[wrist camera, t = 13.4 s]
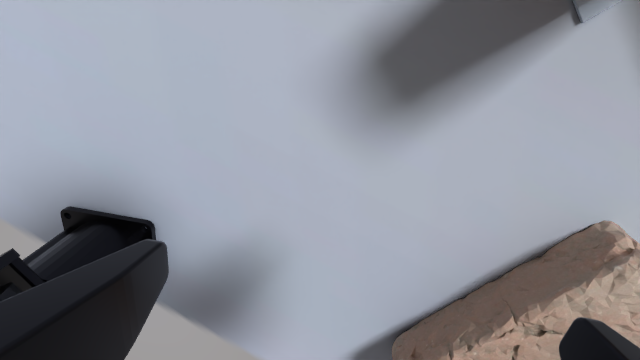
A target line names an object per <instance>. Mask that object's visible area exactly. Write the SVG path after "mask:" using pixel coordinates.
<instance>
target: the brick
mask: <svg viewBox="0 0 640 360" xmlns="http://www.w3.org/2000/svg"><path fill="white" fill-rule="evenodd" d="M578 317H584V318H590V319H595V320H599V321H601V322H603V323H605V324H606V325H608V326H609V327H611V328H612V329H613V330H615V331H616V332H618V333H619V334H621V335H622V336H623V337H625V338H626V339H628V340H629V341H630V342H632V343H633V344H635V345H636V346H638V347H639V348H640V244H639V243H638V242H637V241H636V240H634V239H633V238H631V237H630V236H629V235H628V234H627V233H626V232H625V231H624V230H623V229H622V228H621V227H620V226H619V225H617V224H615V223H614V222H612V221H602V222H600V223H596V224H594V225H592V226H591V227H589V228H587V229H585V230H584V231H582V232H578V233H576V234H573V235H571V236H570V237H568V238H567V239H565V240H563V241H562V242H560V243H558V244H557V245H555V246H554V247H552V248H551V249H549V250H548V251H547V252H546V253H545V254H544V255H543V256H542V257H541V258H540V257H538V258H536V259H534V260H531V261H529V262H527V263H524V264H522V265H520V266H518V267H516V268H514V269H513V270H512V271H511V272H508V273H506V274H505V275H504V276H502V277H501V278H499V279H497V280H495V281H493V282H489V283H487V284H485V285H484V286H482V287H481V288H479V289H478V290H476V291H474V292H472V293H470V294H468V295H467V296H466V297H465V299H459V300H457V301H455V302H453V303H452V304H450V305H448V306H447V307H445V308H444V309H442V310H439V311H438V312H436V313H434V314H433V315H431V316H429V317H427V318H425V319H423V320H422V321H420V322H419V323H418V324H417V325H415V326H413V327H412V328H411V329H410V330H408V331H406V332H404V333H402V334H401V335H400V336H399V337H397V338H396V340H395V342H394V344H393V347H392V358H393V360H561V358H560V355H559V344H560V341H561V340H562V338H563V336H564V335H565V333H566V332H567V330H568V329H569V327H570V325H571V324H572V322H573V321H574V320H575V319H576V318H578Z"/></svg>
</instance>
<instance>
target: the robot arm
mask: <svg viewBox="0 0 640 360" xmlns="http://www.w3.org/2000/svg"><path fill="white" fill-rule="evenodd" d="M61 218H62V223H63V227H64V231H63V232H62V233H60V234H59V235H57V236H56V237H55V238H53V239H52V240H50V241H49V242H48V243H46V244H45V245H43V246H42V247H41V248H39V249H38V250H36V251H35V252H33V253H32V254H31V255H29V256H28V257H27V258H25V259H24V260H21V259H20V258H19V256H20V255H19V254H18V253H17V252H16V251H15V250H14V249H13V248H12V249H11V250H9V251H8V252H6V253H4V254H2V255H1V256H0V360H124V359H125V357H126V356H127V354H128V353H129V351H130V349H131V348H132V346H133V344H134V342H135V341H136V339H137V337H138V335H139V333H140V331H141V329H142V327H143V325H144V324H145V322H146V319H147V318H148V316H149V314H150V312H151V310H152V308H153V306H154V304H155V302H156V300H157V298H158V296H159V294H160V292H161V290H162V288H163V286H164V284H165V282H166V280H167V277H168V270H169V269H168V257H167V247H166V244H165V243H164V242H162V241H156V235H155V227H154V224H153V223H152V222H150V221H148V220H143V219H138V218H132V217H126V216H121V215H115V214H109V213H104V212H98V211H92V210H87V209H81V208H75V207H66V208H65V209H63V210H62V211H61ZM145 227H147V228H148V229H146V228H145ZM559 355H560V358H561V360H640V348H639V347H638V346H636V345H635V344H633V343H632V342H630V341H629V340H628V339H626V338H625V337H623V336H622V335H621V334H619V333H618V332H616V331H615V330H613V329H612V328H611V327H609V326H608V325H606V324H605V323H603V322H601V321H599V320H595V319H590V318H584V317H578V318H576V319H575V320H574V321H573V322H572V324H571V325H570V327H569V329H568V330H567V332H566V333H565V335H564V336H563V338H562V340H561V341H560V344H559Z"/></svg>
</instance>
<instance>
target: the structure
mask: <svg viewBox="0 0 640 360" xmlns="http://www.w3.org/2000/svg"><path fill="white" fill-rule="evenodd" d="M620 1H622V0H573V3H574V6H575V8H576V11H577V14H578V16H579V19H580V22H581V23H584V22H586V21H588V20H589V19H591V18H593V17H594V16H596V15H598V14H600V13H601V12H603V11H605V10H606V9H608V8H610V7H612V6H613V5H615V4H617V3H618V2H620Z"/></svg>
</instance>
